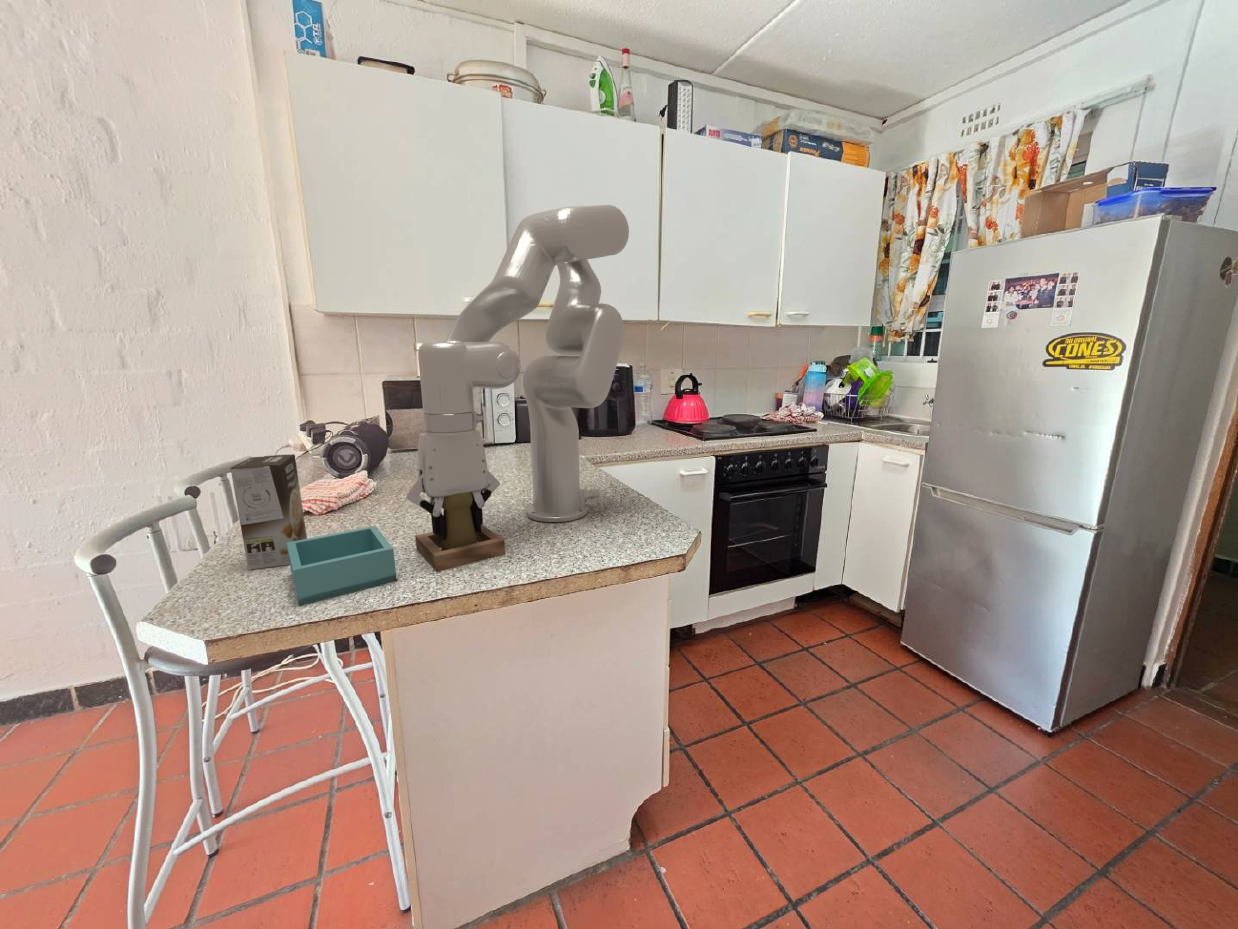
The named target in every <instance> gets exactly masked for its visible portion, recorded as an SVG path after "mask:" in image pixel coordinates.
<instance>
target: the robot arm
mask: <svg viewBox="0 0 1238 929" xmlns="http://www.w3.org/2000/svg"><path fill="white" fill-rule="evenodd" d="M629 234H630V227H629V222H628V219H627V217H626V215H625V214H624V212H623V211H622V210H621V209H620V208H618V207H616V205H615V206H614V205H612V204H603V205H587V206H586V205H585V206H584V205H579V206H564V207H559V208H554V209H549V210H545V211H541V212H540V211H539V212H536V213H532V214H530V215H528V216H526V217H524V218H523V219H522V220H521V221H520V222H519V224H518V225H517V226H516V229H515V231H514V234H513V235H512V238H511V239H510V242H509V244H508V246H507V249H506V250H505V251H506V252H505V253H504V255H503V257H502V259H501V262H500V264H499V267H498V269H497V271H496V273H495V275H494V276H493V279H492V281H491V282H490V283H489V284H488V285H487V286H486V287H484V288H483V290H481V292H479V293H478V295H476V296H475V297H474V299H473V300H471V302H470V303H469V304H467V306H466V307H465V308H464V309H462V311H461V312H460V314H459V315H458V316H457V317H456V319H455V321H454V322H453V324H452V325H451V327H450V330H449V331H448V334H447V336H446V339H445V341H444V342H443V341H439V342H437V341H435V342H434V341H432V342H424V343H422V344H421V345H420V346H419V348H418V351H417V359H418V369H419V370H418V372H419V379H420V380H419V381H420V390H421V399H422V400H421V401H422V411H423V412H422V413H423V414H422V416H423V424H424V432H421V433H419V435H418V442H417V444H418V445H417V480H416V481H415V483H414V484H413V485H412V487H411V488H410V489H409V491H408V493H407V494H406V499H407V501H409V502H411V503H413V504H415V505H417V506H418V507H421V509H424V510H425V511H426V512H428V513H429V514H430V517H431V518H430V520H431V529H432V532H433V533H434V534H436V535H437V536H438V537H439V538H440V539H441V540H444V539H445V538H446V529H445V517H444V516H443V514H442V509H443V508H442V504H443V500H444V497H448V496H451V495H454V494H457V493H472V495H473V501H472V504H471V506H470V510H471V514H472V519H473V524H474V528H475V531H476V532H480V531H481V525H484V517H483V516H484V515H483V508H484V507H485V506H486V504H485V503H486V502H487V501H488V500H489V498H490V497H491V496H492V493H494V492H495V491H496V490H497V489H498V488H499V487H500V485H501V482H500V481H499V480H498V479H497V478H496V477H495V476H494V474H492V473H491V472H490V471H489V470H488V463H487V456H486V453H485V451H486V450H485V447H484V442H483V439H482V435H481V432H480V430H479V429H476V428H477V425H478V424H479V423H483V422H484V416H483V414H482V413H478V412H476V411H475V404H474V403H475V402H474V388H476V389H477V388H479V389H489V390H490V389H493V390H497V389H502V388H506V387H509V386H510V385H511V384H513V383H514V382H516V380H517V379H518V377H519V375H520V372H521V360H520V357H519V356H518V353H517V352H516V351H515V349H513V348H512V347H511V346H509V345H507V344H505V343H502V342H499V341H491V340H492V339H493V338H494V336H495V335H497V333H498V332H499V331H501V330H502V329H504V328H506V327H507V326H509V325H510V324H512V323H515V322H516V321H518V320H520V319H522V318H523V317H525V316H527V315H528V314H531V313H532V312H533V311H534V310H536V309H537V307H538V306H539V304H540V303H541V300H542V297H543V296H544V292H545V290H546V288H547V285H548V283H549V281H550V278H551V276H552V273H553V272H554V270H555V267H556V266H557V267H556V268H557V269H558V274H559V286H558V290H557V293H556V296H555V300H554V303H553V306H552V309H551V313H550V316H549V317H548V322H547V324H546V325H547V326H546V330H545V341H546V344H547V346H548V348H549V350H551V351H553V353H556V354H559V355H546V356H540V357H537V358H535V359H533V360H531V361H530V362H529V363H528V364H527V365H526V367H525V369H524V371H523V375H522V388H523V392H524V396H525V401H526V405H527V406H526V407H527V410H528V417H529V418H528V419H529V428H530V429H529V430H530V432H529V433H530V453H531V454H530V456H531V478H532V479H531V480H532V482H531V483H532V500H533V501H532V503H531V504H529V505H528V506H527V507H526V508H525V515H526V516H527V517H528V518H529V519H531V520H534V521H536V522H542V523H543V522H544V523H563V522H570V521H571V522H572V521H574V520H578V519H582V518H583V517H585V515H587V514H588V511H589V510H588V507H589V506H588V505H587V504H586V502H587V501H588V500H593V499H594V500H595V499H598V498H600V496H601V492H600V490H599V489H598V488H595V489H590V490H588V489H587V488H581V487H580V486H581V484H580V480H581V479H580V451H579V449H580V448H579V446H580V445H579V444H580V443H579V438H580V436H579V434H580V432H579V425H578V421H577V419H576V416H575V414H574V412H573V410H572V408H579V409H581V408H582V409H592V408H593V409H594V408H596V407H597V408H598V407H599V406H600V405H602V404H603V403H604V401H605V400H606V398H607V397H608V395H609V392H610V390H611V387H612V382H613V380H614V376H615V373H616V369H617V365H618V362H619V360H620V355H621V353H622V347H623V344H624V337H625V327H624V326H625V325H624V321H623V317H622V315H621V313H620V312H619V311H618V309H617V308H616V307H615V306H613V305H611V304H607V303H601V302H600V301H601V300H600V299H601V295H602V287H601V282H600V280H599V278H598V276H597V275H596V273H595V271H594V270H593V268H592V266H591V264H590V262H589V260H592V259H597V258H599V259H600V258H603V257H608V256H609V257H610V256H615V255H618V254H619V253H621V252H622V251H623V250H624V249H625V247H626V246H627V243H628V242H629V237H630V236H629ZM421 493H424V494H425V495H426V496H427V497H428V498H429V500H426V499H425V498H423V497H421Z"/></svg>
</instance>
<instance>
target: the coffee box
mask: <svg viewBox="0 0 1238 929" xmlns="http://www.w3.org/2000/svg"><path fill="white" fill-rule="evenodd" d="M229 470H230V473H231V478H232V484H233V490H234V496H235V500H236V501H235V502H236V507H237V514H238V518H239V525H240V529H241V530H240V531H241V537H242V541H243V548H244V552H245V558H246V563H247V569H248V570H250V571H251V570H258V569H266V568H272V567H279V566H282V567H283V566H290V560H289V554H288V548H287V542H292V541H298V540H303V539H308V536H307V528H306V524H305V516H304V515H305V514H304V509H303V500H302V496H301V494H302V493H301V489H300V481H299V480H300V479H299V475H298V468H297V462H296V455H295V454H294V453H293V454H292V453H291V454H273V455H263V456H252V457H249V458H248V459H245V460H243V461H241V462H239V463H237V464H235V465H233V466H231V467H230V468H229Z"/></svg>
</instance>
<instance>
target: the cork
mask: <svg viewBox="0 0 1238 929" xmlns="http://www.w3.org/2000/svg"><path fill="white" fill-rule="evenodd" d="M472 501H473V495H472V493H457V494H454V495H451V496H448V497H444V500H443V504H442V509H443V514H442V515H443V516H444V517H445V529H446V538H445V539H444V540H442V547H440V549H441V550H442V551H445V550H449V549H453V548H457V547H462V546H466V545H470V544H474V543H479V542H477V537H476V533H475V528H474V524H473V519H472V514H471V510H470V506H471V504H472Z"/></svg>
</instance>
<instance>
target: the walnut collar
mask: <svg viewBox="0 0 1238 929" xmlns="http://www.w3.org/2000/svg"><path fill="white" fill-rule="evenodd" d="M475 533H476V537H477V542H478V543H474V544H470V545H466V546H462V547H457V548H453V549H449V550H445V551H442V550H441V547H442V540H441V539H440V538H439V537H438V536H437V535H436V534H434V533H433V531H429V532H425V533H420V534H416V535H415V538H414V539H415V546H416V548H415V549H416V551H417V552H418V554H420V555H421V556H422V557H423V559H425V561H426V562H427V563H428V564H429V565H430V567H432V568H433V570H434V571H435V572H436V573H438V572H442V571H445V570H450V569H453V568H457V567H462V566H465V565H469V564H473V563H478V562H481V561H484V560H488V558H489V559H492V558H496V557H500V556H501V557H502V556H504V554H505V555H506V546H505V542H506V541H505V539H503V537H501V536H500V535H498V534H496V533H495V532H494V531H492V530H491V529H489V527H487V526H485V525H484V524H482V525H481V531H480V532H476V531H475Z"/></svg>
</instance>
